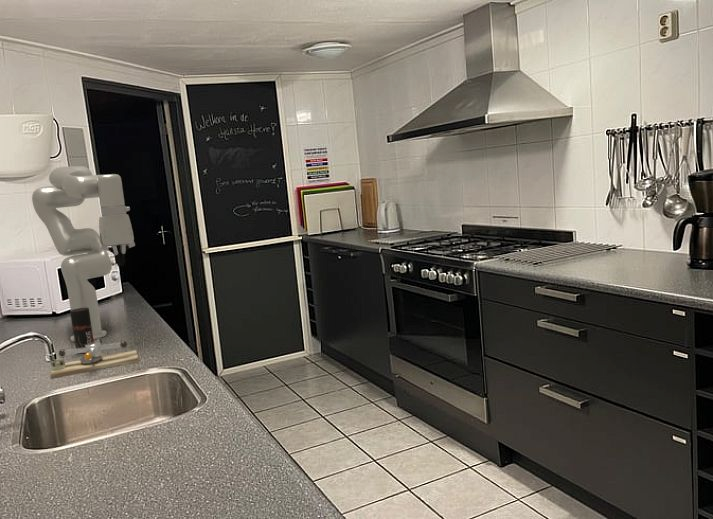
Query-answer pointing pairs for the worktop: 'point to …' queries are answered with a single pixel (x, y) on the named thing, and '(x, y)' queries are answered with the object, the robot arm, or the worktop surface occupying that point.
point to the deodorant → (81, 327)
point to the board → (91, 364)
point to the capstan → (92, 350)
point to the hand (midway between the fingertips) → (120, 265)
